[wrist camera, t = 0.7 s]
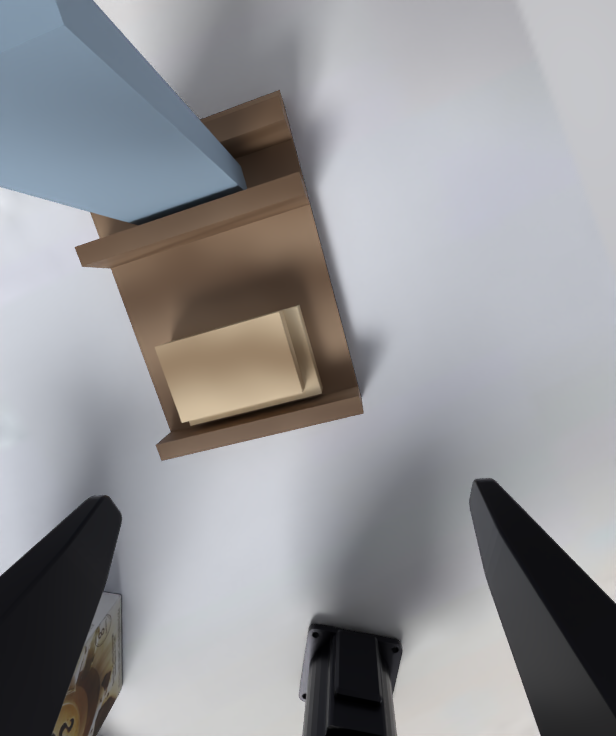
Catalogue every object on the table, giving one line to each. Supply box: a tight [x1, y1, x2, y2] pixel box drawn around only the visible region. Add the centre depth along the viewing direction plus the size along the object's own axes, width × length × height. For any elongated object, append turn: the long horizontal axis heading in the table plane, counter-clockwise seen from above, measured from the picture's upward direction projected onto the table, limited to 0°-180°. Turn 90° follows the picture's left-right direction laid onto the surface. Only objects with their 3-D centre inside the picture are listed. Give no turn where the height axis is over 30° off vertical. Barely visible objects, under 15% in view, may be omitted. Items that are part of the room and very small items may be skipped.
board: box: [0, 0, 247, 225], centre depth 14 cm, size 2×6×14 cm, turn 106°
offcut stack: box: [155, 305, 323, 426], centre depth 22 cm, size 5×8×2 cm, turn 106°
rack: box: [75, 90, 364, 461], centre depth 21 cm, size 17×12×3 cm
